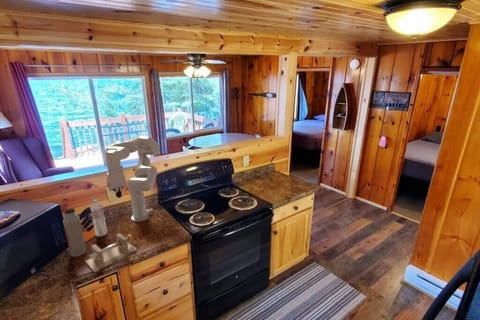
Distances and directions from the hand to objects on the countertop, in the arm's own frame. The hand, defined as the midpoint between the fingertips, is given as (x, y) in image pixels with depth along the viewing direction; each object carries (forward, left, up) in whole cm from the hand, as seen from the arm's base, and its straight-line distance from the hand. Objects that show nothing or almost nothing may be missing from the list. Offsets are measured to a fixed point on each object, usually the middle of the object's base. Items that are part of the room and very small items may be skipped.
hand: (119, 197), depth 162 cm
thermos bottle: (+27, -3, -27) cm, 39 cm away
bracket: (+16, +16, -27) cm, 35 cm away
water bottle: (+10, -12, -27) cm, 31 cm away
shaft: (+15, +16, -23) cm, 32 cm away
